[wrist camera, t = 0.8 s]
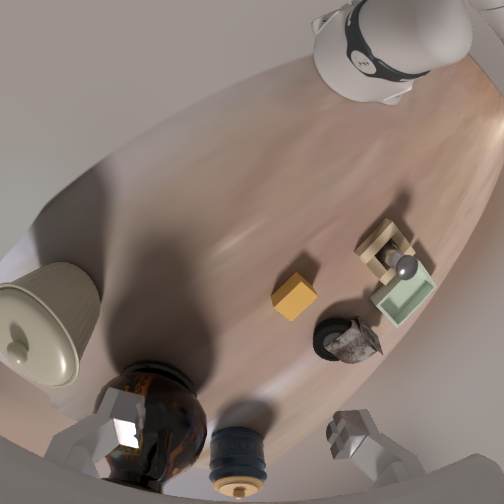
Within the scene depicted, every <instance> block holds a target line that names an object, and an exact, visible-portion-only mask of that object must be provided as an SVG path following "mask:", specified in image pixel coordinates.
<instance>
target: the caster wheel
mask: <svg viewBox="0 0 504 504" xmlns="http://www.w3.org/2000/svg"><path fill="white" fill-rule="evenodd" d="M358 320H359V324H360V325H359V324H358V323H356V322H355V321H353V320H349V321H348V320H346V319H343V318H330V319H327V320H325V321H323V322H321V323H320V324H319V325H318V326H317V328H316V329H315V331H314V334H313V348H314V351H315V352H316V354H317V355H318V356H320V357H321V358H323V359H325V360H329V361H339V360H340V361H342V362H344V363H348V364H354V363H359V362H362V361H364V360H366V359H367V358H369V357H370V356H371V355H373V354H374V353H376V352H377V351H379V352H380V353H381V354H382V355H383V353H382V349H381V346H380V342H379V339H378V336H377V335H376V334H375V333H374V332H373V331H372V330H371V329H370V327H369V326H368V325H367V324H366V323H365V322H364V321H363V320H362V319H361V318H360V317H359V316H358Z"/></svg>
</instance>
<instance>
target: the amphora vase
mask: <svg viewBox="0 0 504 504" xmlns="http://www.w3.org/2000/svg"><path fill="white" fill-rule="evenodd" d="M109 387H111V388H115V389H119V390H123V391H126V392H130V393H134V394H138V395H142V396H144V398H145V403H144V407H145V410H146V416H145V423H144V428H143V429H142V430H141V440H140V444H139V448H135V447H131V446H126V445H122V444H119V445H118V446H117V447H116V448H115V449H113V450H112V451H111V452H110V453H108V454H107V455H106V456H105V458H106V460H107V462H108V464H109V466H110V469H111V473H110V475H109V477H108V478H101V479H102V480H105V481H109V482H112V483H116V484H119V485H123V486H127V487H131V488H135V489H140V490H144V491H149V492H154V493H159V494H163V487H164V486H165V484H166V483H167V482H169V481H170V480H172V479H174V478H176V477H178V476H179V475H181V474H183V473H184V472H185V471H187V470H188V469H189V468H190V467H191V466H192V465H193V464H194V463H195V462H196V461H197V459H198V458H199V456H200V454H201V452H202V449H203V447H204V444H205V440H206V437H207V420H206V415H205V412H204V410H203V408H202V406H201V404H200V402H199V401H198V399H197V393H196V388H195V386H194V384H193V382H192V381H191V380H190V379H189V378H188V377H187V376H186V375H185V374H184V373H182V372H181V371H180V370H178V369H177V368H175V367H172V366H170V365H168V364H165V363H161V362H157V361H140V362H136V363H133V364H131V365H129V366H128V367H127V368H126V369H124V371H123V372H122V375H120V376H118V377H115V378H113V379H112V380H111V381H109V382H108V383H107V384H106V385H105V386H104V387H103V388H102V389H101V391H100V393H99V395H98V396H97V399H96V402H95V405H94V410H93V413H94V414H97V412H98V410H99V407H100V405H101V403H102V400H103V398H104V396H105V393H106V391H107V389H108V388H109Z"/></svg>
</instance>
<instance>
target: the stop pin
mask: <svg viewBox="0 0 504 504" xmlns="http://www.w3.org/2000/svg"><path fill="white" fill-rule="evenodd" d="M376 255H377V257H379V258H380V259H381V260H382V261H384V262H385V263H386V264H387V265H389V266H390V267H391V268H392V269H394V270H395V271H396V274H397V276H398V277H399V278H400V279H402V280H409V279H411V278H412V277H414V275H415V274H416V272H417V270H418V261H417V259H416V258H414V257H413V256H411V255H405V254H404V253H402V252H401V251H399V250H398V249H396V248H395V247H393V246H392V245H390V244H389V243H386V244H385V245H384V246H383V247H382V248H381V249H380V250H379V251H378V252H377V253H376Z"/></svg>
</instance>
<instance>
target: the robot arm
mask: <svg viewBox="0 0 504 504" xmlns="http://www.w3.org/2000/svg"><path fill="white" fill-rule="evenodd" d="M464 1H466V2H467V3H469V4H470V5H471V6H472V7H473V8H475V9H476V10H477V11H478V12H479V13H480V15H481V16H482V17H483V18H484V19H485V21H486V22H487V23H488V24H489V26H490V27H491V28H492V29H493V30H494V32H495V33H496V34H497V36H498V37H499V38H500V40H501V41H502V42H503V44H504V0H464ZM464 1H463V0H353V1H352V5H349V4H346V5H344V6H343V7H341V9H338V10H336V11H333V12H331V13H329V14H326V15H324V16H322V17H320V18H317V19H315V20H314V21H313V22H312V23H311V28H312V31H313V34H314V37H315V44H314V61H315V64H316V67H317V69H318V71H319V73H320V75H321V77H322V78H323V79H324V81H325V82H326V83H327V84H328V85H329V86H330V87H331V88H332V89H333V90H334V91H336V92H337V93H339V94H340V95H342V96H344V97H346V98H348V99H351V100H354V101H359V102H372V101H378V102H381V103H384V104H387V105H391V106H393V105H395V104H397V103H398V102H399V100H400V98H401V96H402V95H403V93H404V92H407V91H409V90H411V89H412V85H413V83H414V81H415V80H416V79H419V78H421V77H422V76H424V75H426V74H427V73H429V72H430V71H431V70H433V69H436V68H439V67H443V66H446V65H449V64H453V63H456V62H458V61H460V60H461V59H463V58H464V57H465V56H466V55H467V53H468V52H469V50H470V48H471V45H472V39H473V33H472V25H471V19H470V16H469V13H468V11H467V8H466V6H465V3H464ZM323 22H326V23H325V24H324V23H323ZM144 403H145V398H144V396H142V395H138V394H134V393H130V392H126V391H123V390H119V389H115V388H111V387H109V388H108V389H107V391H106V393H105V396H104V398H103V400H102V403H101V405H100V407H99V410H98V412H97V414H94V413H93V414H91V415H90V416H88V417H86V418H84V419H83V420H81V421H79V422H77V423H76V424H74V425H72V426H71V427H69V428H67V429H65V430H63V431H61V432H60V433H58V434H56V435H54V436H53V438H52V441H51V443H50V445H49V447H48V449H47V451H46V453H45V455H44V457H41V456H39V455H37V454H35V453H33V452H31V451H29V450H27V449H25V448H23V447H21V446H19V445H17V444H15V443H13V442H11V441H10V440H8V439H6V438H5V437H3V436H1V435H0V504H504V473H503V471H502V470H501V468H500V467H499V465H498V464H497V463H496V462H494V461H492V460H491V459H489V458H487V457H485V456H483V455H480V454H473V455H470V456H468V457H466V458H464V459H462V460H459V461H457V462H454V463H452V464H450V465H447V466H445V467H442V468H440V469H437V470H435V471H432V472H429V473H425V471H424V469H423V467H422V465H421V463H420V461H419V459H418V457H417V456H416V455H415V454H413V453H412V452H410V451H408V450H407V449H405V448H404V447H402V446H401V445H399V444H398V443H396V442H395V441H393V440H392V439H390V438H389V437H387V436H386V435H384V434H383V433H381V434H380V433H379V431H378V429H377V427H376V425H375V423H374V421H373V419H372V417H371V415H370V413H369V411H368V410H366V409H364V410H350V411H337V412H336V413H335V414H334V416H333V419H334V420H333V421H331V422H330V423H329V424H328V426H327V430H326V437H327V440H328V442H329V443H331V444H332V446H331V448H330V450H331V452H332V455H333V459H345V458H350V459H351V460H352V461H353V462H354V463H355V464H356V465H357V466H358V467H359V468H360V469H361V470H363V471H364V472H365V473H366V474H367V475H368V476H369V477H370V478H371V479H372V480H373V481H374V482H373V483H372V485H370V486H369V488H368V489H367V490H366V491H361V492H356V493H352V494H345V495H339V496H334V497H327V498H318V499H309V500H298V501H283V502H226V501H212V500H201V499H192V498H184V497H177V496H170V495H165V494H159V493H154V492H149V491H144V490H140V489H135V488H131V487H127V486H123V485H119V484H116V483H112V482H109V481H105V480H102V479H101V478H100V476H99V474H98V472H97V470H96V468H95V466H94V465H95V464H96V463H97V462H99V461H100V460H101V459H102V458H104V457H105V456H106V455H107V454H108V453H110V452H111V451H112V450H113V449H115V448H116V447H117V446H118V445H119V444H122V445H126V446H131V447H135V448H139V444H140V440H141V430H142V429H143V428H144V423H145V416H146V410H145V407H144Z"/></svg>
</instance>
